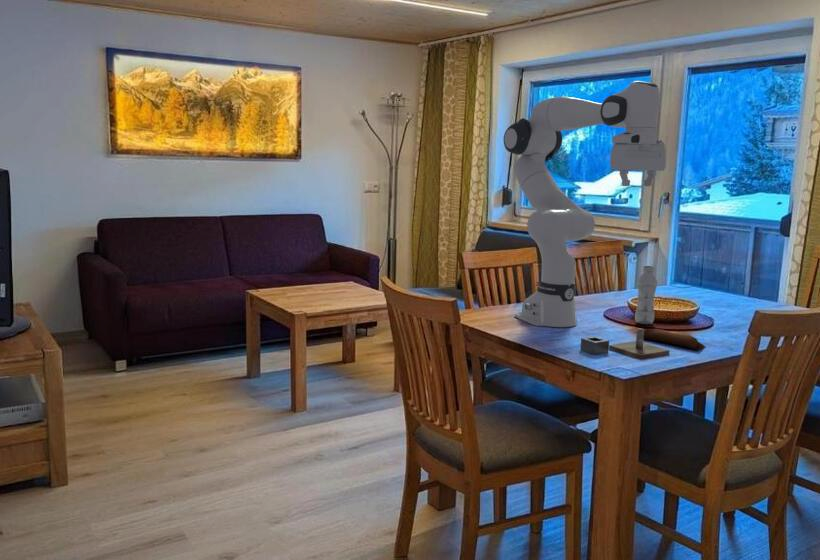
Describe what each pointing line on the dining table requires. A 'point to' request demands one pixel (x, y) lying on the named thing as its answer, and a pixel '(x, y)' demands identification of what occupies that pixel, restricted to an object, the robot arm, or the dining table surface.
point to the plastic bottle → (646, 296)
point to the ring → (594, 345)
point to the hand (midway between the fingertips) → (636, 186)
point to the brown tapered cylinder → (673, 338)
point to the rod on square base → (639, 348)
